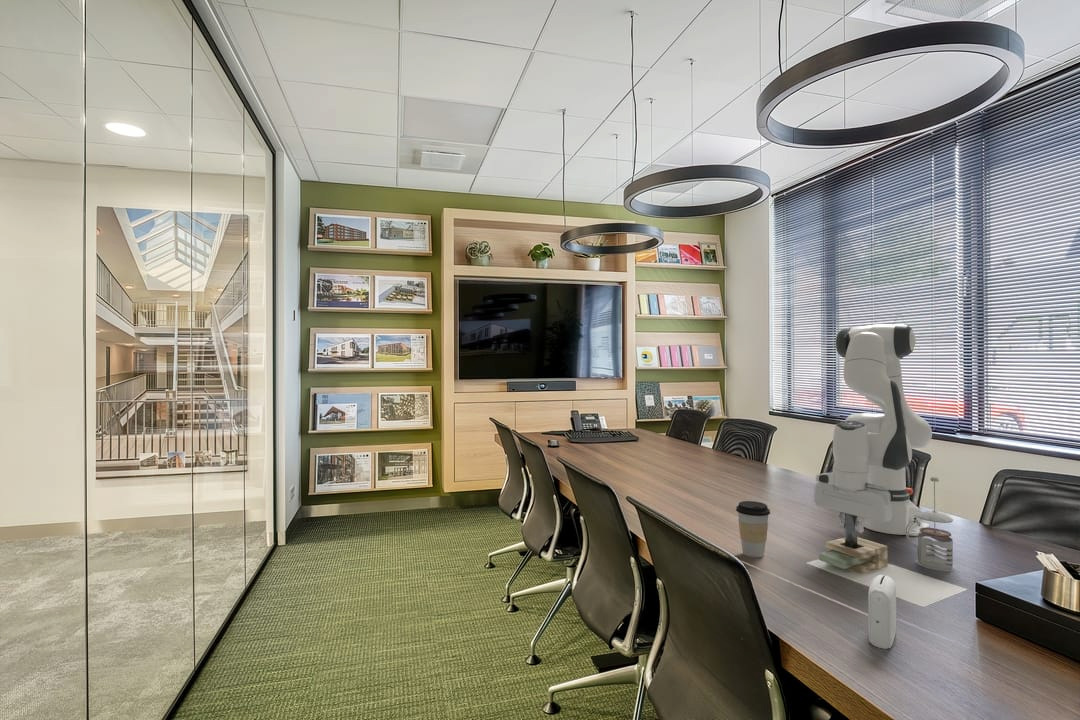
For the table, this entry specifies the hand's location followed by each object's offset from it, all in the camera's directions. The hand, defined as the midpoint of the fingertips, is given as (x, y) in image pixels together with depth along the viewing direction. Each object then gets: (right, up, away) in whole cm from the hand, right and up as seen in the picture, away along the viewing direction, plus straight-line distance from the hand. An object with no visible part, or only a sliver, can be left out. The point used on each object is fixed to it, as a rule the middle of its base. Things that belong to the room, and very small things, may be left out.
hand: (851, 529), depth 145 cm
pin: (0, -5, 0) cm, 5 cm away
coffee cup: (-24, -11, +9) cm, 27 cm away
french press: (+22, -10, 0) cm, 25 cm away
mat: (+4, -10, -7) cm, 13 cm away
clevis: (0, -10, 0) cm, 10 cm away
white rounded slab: (-16, -11, -37) cm, 42 cm away
